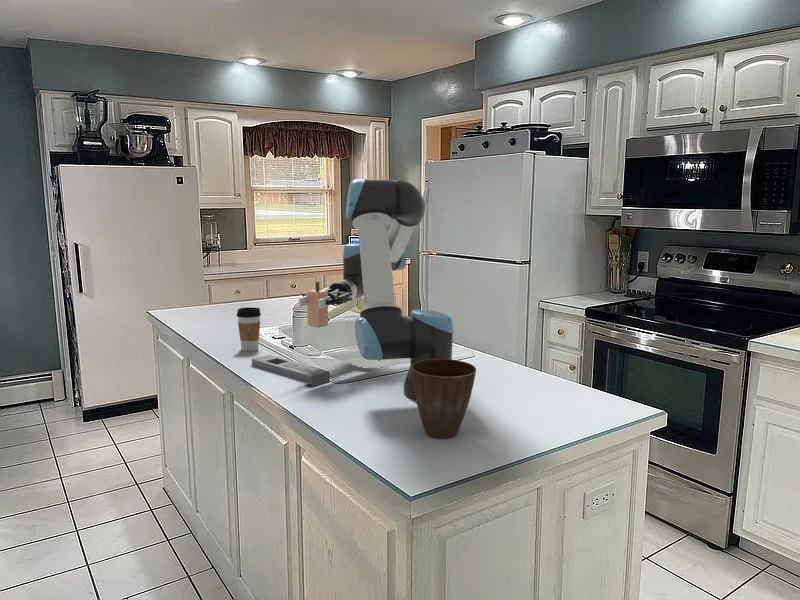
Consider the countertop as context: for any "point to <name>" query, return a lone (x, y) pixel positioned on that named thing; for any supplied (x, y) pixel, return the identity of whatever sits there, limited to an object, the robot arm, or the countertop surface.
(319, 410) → the countertop surface
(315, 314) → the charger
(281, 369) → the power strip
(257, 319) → the coffee cup
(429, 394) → the plant pot
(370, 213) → the robot arm
